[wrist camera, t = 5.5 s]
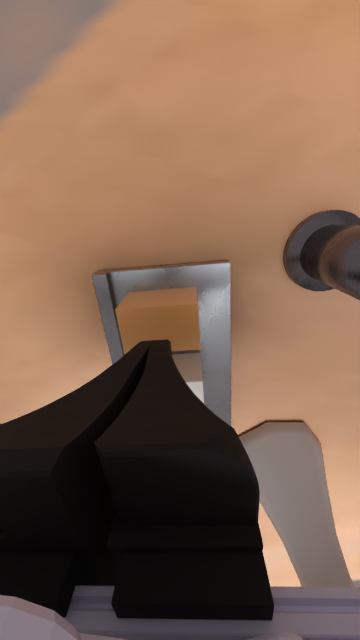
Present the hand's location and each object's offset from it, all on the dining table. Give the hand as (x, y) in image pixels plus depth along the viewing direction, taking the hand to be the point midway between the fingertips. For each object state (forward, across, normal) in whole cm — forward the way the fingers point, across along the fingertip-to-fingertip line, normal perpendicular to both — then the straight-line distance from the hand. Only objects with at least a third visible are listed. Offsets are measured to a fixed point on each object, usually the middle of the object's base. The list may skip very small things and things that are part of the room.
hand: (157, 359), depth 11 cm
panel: (+5, 0, +4) cm, 7 cm away
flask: (+6, -8, +13) cm, 16 cm away
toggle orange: (+4, 0, -1) cm, 4 cm away
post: (+5, -10, -3) cm, 11 cm away
